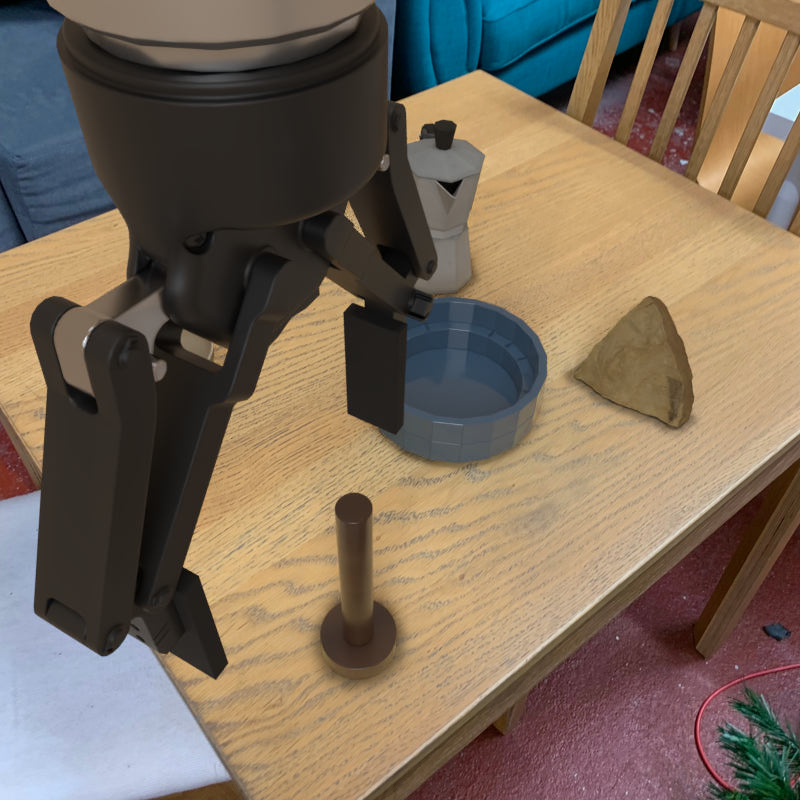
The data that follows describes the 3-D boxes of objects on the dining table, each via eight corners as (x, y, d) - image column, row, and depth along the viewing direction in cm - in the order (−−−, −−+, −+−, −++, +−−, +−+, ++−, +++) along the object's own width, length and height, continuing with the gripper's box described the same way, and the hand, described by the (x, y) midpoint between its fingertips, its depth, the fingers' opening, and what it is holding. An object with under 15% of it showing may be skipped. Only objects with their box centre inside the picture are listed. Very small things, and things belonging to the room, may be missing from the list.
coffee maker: (484, 304, 84) (505, 155, 71) (405, 311, 83) (411, 161, 70) (456, 225, 94) (470, 82, 81) (386, 230, 93) (387, 85, 79)
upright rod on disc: (409, 657, 57) (419, 524, 43) (341, 693, 55) (330, 565, 42) (374, 596, 60) (374, 456, 47) (309, 628, 58) (289, 490, 45)
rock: (730, 404, 71) (677, 325, 77) (711, 372, 65) (655, 287, 70) (626, 461, 75) (583, 382, 80) (598, 436, 68) (553, 351, 73)
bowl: (571, 427, 72) (584, 383, 68) (419, 494, 67) (422, 451, 62) (477, 322, 82) (483, 278, 77) (337, 373, 76) (334, 329, 72)
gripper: (363, -143, 26) (368, 325, 42) (-530, 227, 11) (3, 739, 27) (572, -107, 24) (494, 374, 39) (-201, 427, 9) (171, 859, 24)
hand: (295, 523), depth 33 cm, fingers open, 13 cm apart
